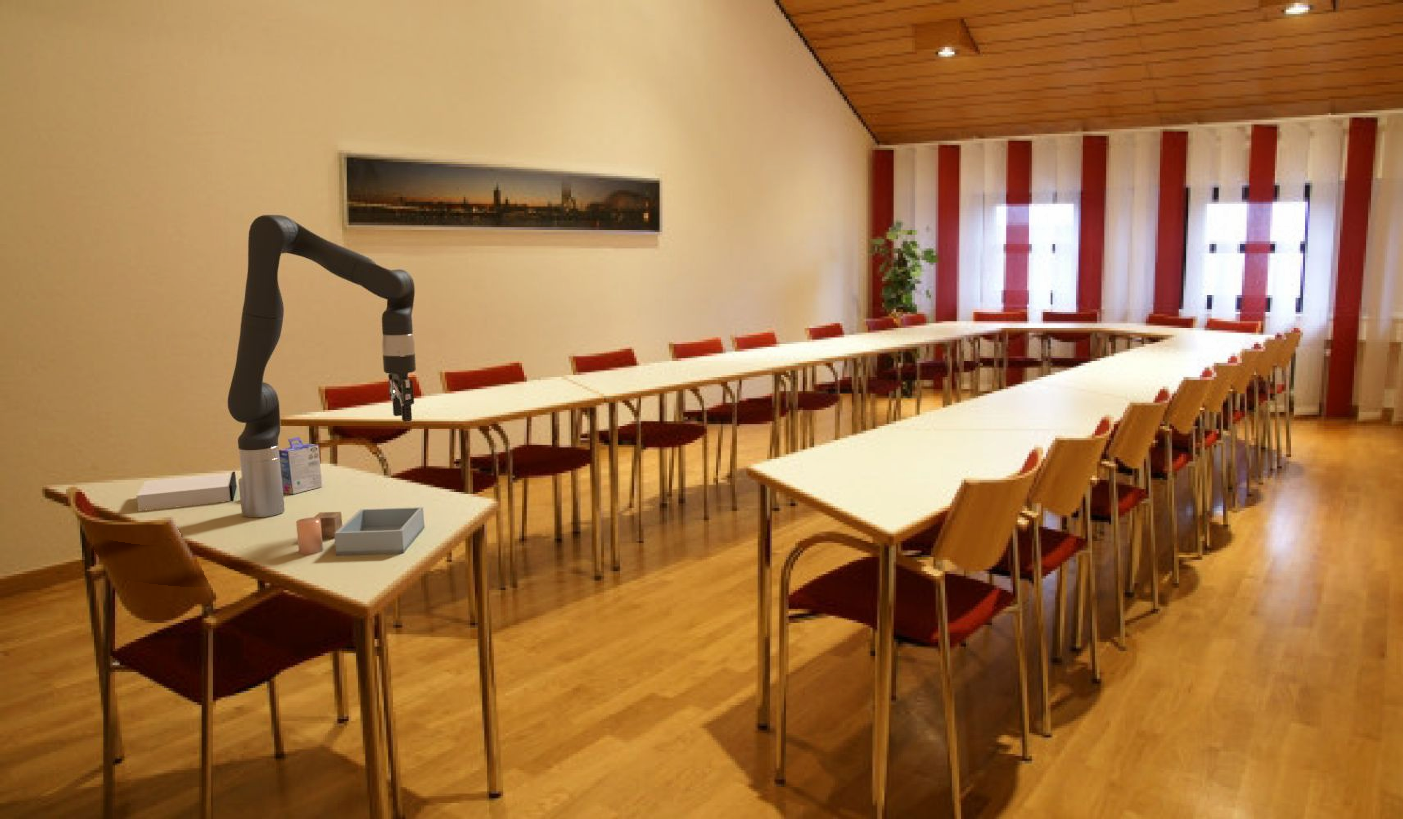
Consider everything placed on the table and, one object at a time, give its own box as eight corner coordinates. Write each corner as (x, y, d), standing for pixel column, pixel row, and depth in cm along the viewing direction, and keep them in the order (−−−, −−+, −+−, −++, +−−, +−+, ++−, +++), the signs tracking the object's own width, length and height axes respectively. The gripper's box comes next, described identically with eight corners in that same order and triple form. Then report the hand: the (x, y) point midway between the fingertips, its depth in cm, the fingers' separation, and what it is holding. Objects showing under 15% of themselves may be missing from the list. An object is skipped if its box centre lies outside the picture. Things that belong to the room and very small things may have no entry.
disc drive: (233, 503, 268) (232, 484, 267) (138, 513, 260) (136, 494, 259) (237, 488, 284) (235, 471, 283) (147, 497, 276) (145, 480, 275)
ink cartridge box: (311, 484, 284) (306, 434, 282) (323, 487, 282) (319, 436, 279) (280, 492, 276) (275, 441, 274) (293, 495, 273) (288, 442, 271)
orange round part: (295, 555, 220) (292, 524, 219) (303, 548, 225) (300, 517, 224) (318, 554, 220) (316, 523, 219) (326, 547, 225) (323, 517, 224)
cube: (314, 539, 232) (312, 518, 231) (321, 533, 237) (319, 512, 236) (336, 538, 232) (334, 517, 231) (342, 532, 237) (341, 511, 236)
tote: (336, 555, 219) (334, 533, 218) (362, 529, 238) (360, 509, 238) (403, 553, 220) (402, 530, 219) (424, 527, 239) (423, 507, 238)
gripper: (376, 350, 248) (380, 415, 251) (390, 356, 236) (394, 424, 239) (406, 349, 252) (410, 412, 255) (422, 354, 240) (425, 421, 242)
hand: (402, 418), depth 247 cm, fingers open, 8 cm apart
